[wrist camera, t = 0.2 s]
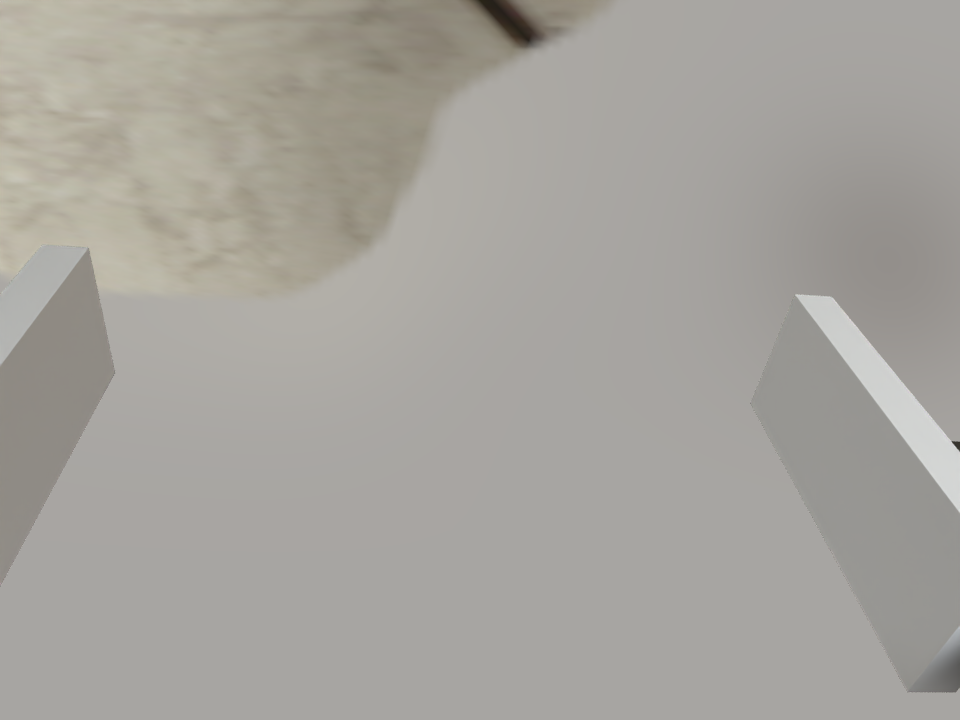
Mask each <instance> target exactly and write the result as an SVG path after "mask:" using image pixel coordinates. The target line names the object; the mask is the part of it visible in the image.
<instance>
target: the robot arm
mask: <svg viewBox="0 0 960 720" xmlns="http://www.w3.org/2000/svg"><path fill="white" fill-rule="evenodd" d="M114 374H115V370H114V365H113V360H112V356H111V351H110V346H109V341H108V337H107V332H106V327H105V323H104V318H103V313H102V308H101V304H100V299H99V294H98V290H97V285H96V280H95V276H94V271H93V266H92V261H91V257H90V252H89V248H85V247H70V246H55V245H42V246H41V247H40V248H39V249H38V251H37V252H36V253H35V254H34V255H33V256H32V258H31V259H30V260H29V261H28V262H27V263H26V265H25V266H24V267H23V268H22V269H21V270H20V272H19V273H18V274H17V275H16V276H15V277H14V279H13V280H12V281H11V282H10V283H9V284H8V286H7V287H6V288H5V289H4V290H3V291H2V293H1V294H0V585H1V584H2V582H3V580H4V578H5V577H6V575H7V573H8V571H9V569H10V567H11V565H12V563H13V562H14V560H15V558H16V556H17V554H18V552H19V550H20V549H21V547H22V545H23V543H24V541H25V539H26V537H27V536H28V534H29V532H30V530H31V528H32V526H33V524H34V523H35V520H36V519H37V517H38V515H39V513H40V511H41V510H42V508H43V506H44V504H45V502H46V500H47V498H48V497H49V495H50V493H51V491H52V489H53V487H54V485H55V484H56V482H57V480H58V478H59V476H60V474H61V472H62V470H63V468H64V467H65V465H66V463H67V461H68V459H69V458H70V455H71V454H72V452H73V450H74V448H75V446H76V444H77V443H78V441H79V439H80V437H81V435H82V433H83V431H84V430H85V428H86V426H87V424H88V422H89V420H90V418H91V416H92V415H93V413H94V411H95V409H96V407H97V405H98V404H99V402H100V400H101V398H102V396H103V394H104V392H105V391H106V389H107V387H108V385H109V383H110V381H111V379H112V378H113V376H114ZM750 404H751V406H752V408H753V409H754V411H755V413H756V415H757V417H758V418H759V420H760V422H761V424H762V426H763V428H764V430H765V431H766V433H767V435H768V437H769V439H770V441H771V442H772V444H773V446H774V448H775V450H776V452H777V454H778V455H779V457H780V459H781V461H782V463H783V465H784V466H785V468H786V470H787V472H788V474H789V476H790V477H791V479H792V481H793V483H794V485H795V487H796V488H797V490H798V492H799V494H800V496H801V498H802V499H803V501H804V503H805V505H806V507H807V509H808V510H809V512H810V514H811V516H812V518H813V520H814V522H815V523H816V525H817V527H818V529H819V531H820V533H821V534H822V536H823V538H824V540H825V541H826V543H827V545H828V547H829V549H830V551H831V553H832V554H833V556H834V558H835V560H836V562H837V564H838V565H839V567H840V569H841V571H842V573H843V575H844V577H845V578H846V580H847V582H848V584H849V586H850V588H851V589H852V591H853V593H854V595H855V597H856V599H857V601H858V602H859V604H860V606H861V608H862V610H863V612H864V613H865V615H866V617H867V619H868V621H869V623H870V624H871V626H872V628H873V630H874V632H875V634H876V635H877V637H878V639H879V641H880V643H881V644H882V647H883V648H884V650H885V652H886V654H887V655H888V658H889V659H890V661H891V662H892V665H893V667H894V669H895V670H896V672H897V674H898V676H899V678H900V680H901V681H902V683H903V685H904V687H905V689H906V691H907V692H956V691H957V690H958V689H959V688H960V442H953V441H950V440H949V438H948V437H947V436H946V435H945V433H944V432H943V431H942V430H941V429H940V427H939V426H938V425H937V424H936V423H935V421H934V420H933V419H932V418H931V416H930V415H929V414H928V413H927V412H926V410H925V409H924V408H923V407H922V406H921V404H920V403H919V402H918V401H917V400H916V398H915V397H914V396H913V395H912V394H911V392H910V391H909V390H908V389H907V387H906V386H905V385H904V384H903V383H902V381H901V380H900V379H899V378H898V377H897V375H896V374H895V373H894V372H893V370H892V369H891V368H890V367H889V366H888V364H887V363H886V362H885V361H884V360H883V358H882V357H881V356H880V355H879V353H878V352H877V351H876V350H875V349H874V348H873V346H872V345H871V344H870V343H869V341H868V340H867V339H866V338H865V337H864V335H863V334H862V333H861V332H860V330H859V329H858V328H857V327H856V326H855V324H854V323H853V322H852V321H851V320H850V318H849V317H848V316H847V315H846V314H845V312H844V311H843V310H842V309H841V307H840V306H839V305H838V304H837V303H836V301H835V300H834V299H833V298H832V297H827V296H812V295H797V294H795V295H794V298H793V300H792V303H791V305H790V307H789V310H788V312H787V315H786V317H785V320H784V322H783V325H782V327H781V329H780V332H779V334H778V337H777V339H776V342H775V344H774V347H773V349H772V352H771V354H770V356H769V359H768V361H767V364H766V366H765V369H764V371H763V373H762V376H761V378H760V381H759V384H758V386H757V388H756V391H755V393H754V396H753V398H752V400H751V403H750Z"/></svg>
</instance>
